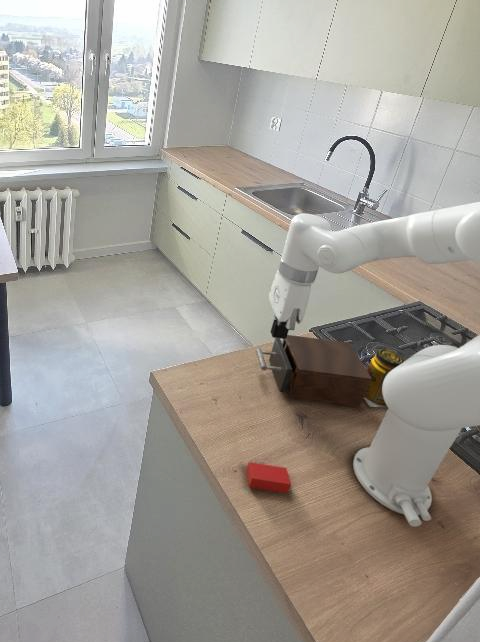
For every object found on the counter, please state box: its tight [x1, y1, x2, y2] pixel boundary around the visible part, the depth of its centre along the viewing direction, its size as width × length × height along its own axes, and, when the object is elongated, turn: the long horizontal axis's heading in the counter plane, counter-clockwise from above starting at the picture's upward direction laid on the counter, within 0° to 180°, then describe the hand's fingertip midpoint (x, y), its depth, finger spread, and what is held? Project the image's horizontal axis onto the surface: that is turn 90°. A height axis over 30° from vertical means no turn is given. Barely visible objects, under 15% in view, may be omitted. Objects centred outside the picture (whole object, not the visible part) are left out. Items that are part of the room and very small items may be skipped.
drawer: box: [255, 338, 297, 394], centre depth 100 cm, size 19×10×7 cm, turn 83°
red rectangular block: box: [245, 461, 292, 494], centre depth 78 cm, size 7×3×3 cm, turn 83°
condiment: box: [363, 348, 404, 408], centre depth 97 cm, size 7×8×12 cm
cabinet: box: [281, 334, 372, 409], centre depth 100 cm, size 16×12×9 cm
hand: (278, 335), depth 98 cm, fingers closed
